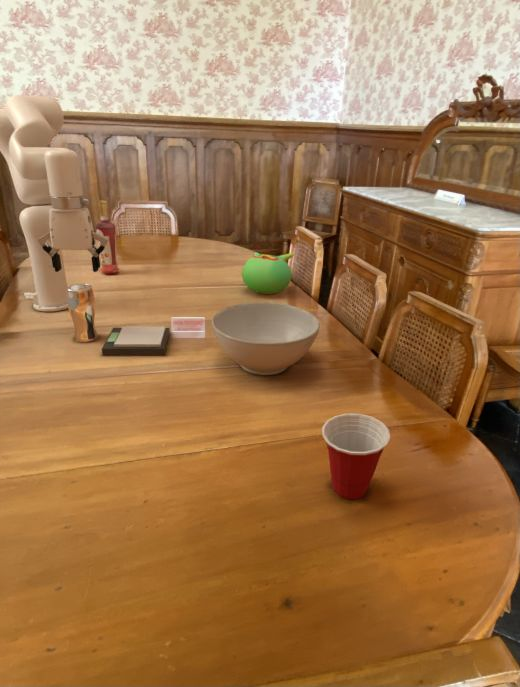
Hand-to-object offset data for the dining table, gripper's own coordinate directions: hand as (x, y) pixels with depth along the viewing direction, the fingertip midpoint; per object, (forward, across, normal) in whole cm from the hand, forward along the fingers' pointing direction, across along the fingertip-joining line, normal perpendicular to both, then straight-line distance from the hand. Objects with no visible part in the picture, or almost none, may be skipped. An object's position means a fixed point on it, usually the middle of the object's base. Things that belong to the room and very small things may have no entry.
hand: (77, 270), depth 124 cm
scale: (+20, -15, +4) cm, 25 cm away
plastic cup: (+21, -60, +62) cm, 88 cm away
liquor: (+19, +7, -64) cm, 67 cm away
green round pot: (+20, -54, -42) cm, 71 cm away
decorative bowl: (+20, -49, +16) cm, 55 cm away
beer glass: (+20, 0, 0) cm, 20 cm away
